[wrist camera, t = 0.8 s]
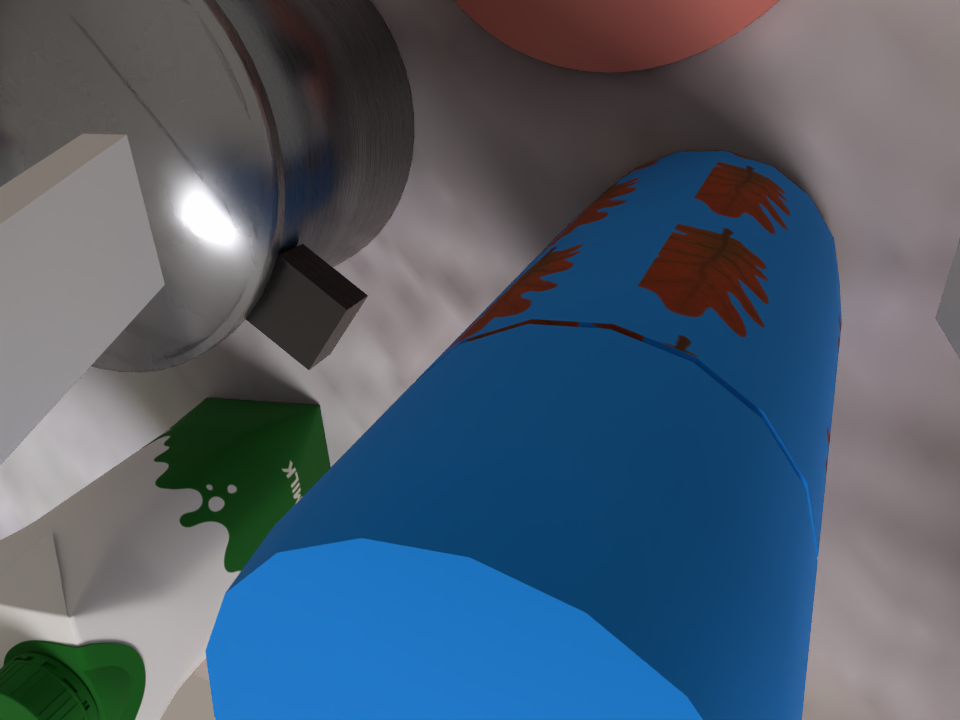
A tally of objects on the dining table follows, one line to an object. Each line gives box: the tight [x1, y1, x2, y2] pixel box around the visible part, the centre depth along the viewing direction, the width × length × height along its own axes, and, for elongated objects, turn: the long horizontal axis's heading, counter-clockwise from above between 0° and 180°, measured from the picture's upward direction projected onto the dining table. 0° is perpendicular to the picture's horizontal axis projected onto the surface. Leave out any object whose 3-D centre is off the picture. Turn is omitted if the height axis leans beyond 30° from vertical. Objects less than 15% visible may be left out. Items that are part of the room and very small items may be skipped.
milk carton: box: [0, 398, 330, 720], centre depth 39 cm, size 9×9×20 cm
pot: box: [0, 0, 414, 372], centre depth 35 cm, size 21×16×12 cm
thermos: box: [205, 151, 841, 720], centre depth 25 cm, size 11×11×25 cm
